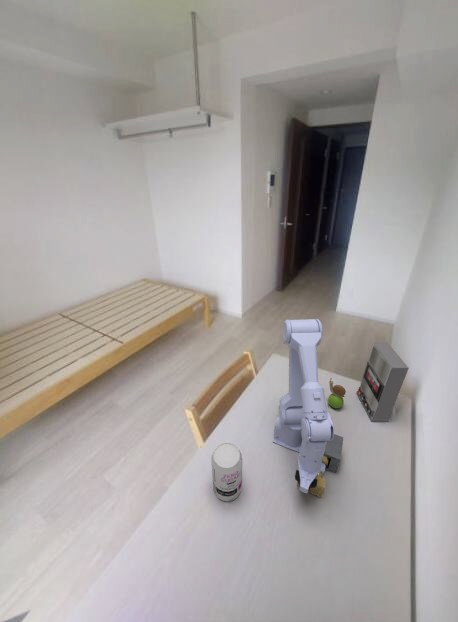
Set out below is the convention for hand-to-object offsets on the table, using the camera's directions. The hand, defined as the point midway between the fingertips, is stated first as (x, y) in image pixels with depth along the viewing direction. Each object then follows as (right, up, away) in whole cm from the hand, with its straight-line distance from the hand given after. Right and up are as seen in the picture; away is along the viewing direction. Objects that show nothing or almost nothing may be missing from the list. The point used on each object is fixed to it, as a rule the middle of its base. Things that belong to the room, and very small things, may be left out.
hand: (305, 481), depth 76 cm
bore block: (+8, +2, +9) cm, 12 cm away
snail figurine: (+18, +12, +27) cm, 35 cm away
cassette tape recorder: (+32, +12, +26) cm, 43 cm away
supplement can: (-22, -3, +1) cm, 22 cm away
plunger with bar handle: (+4, +1, +6) cm, 7 cm away
